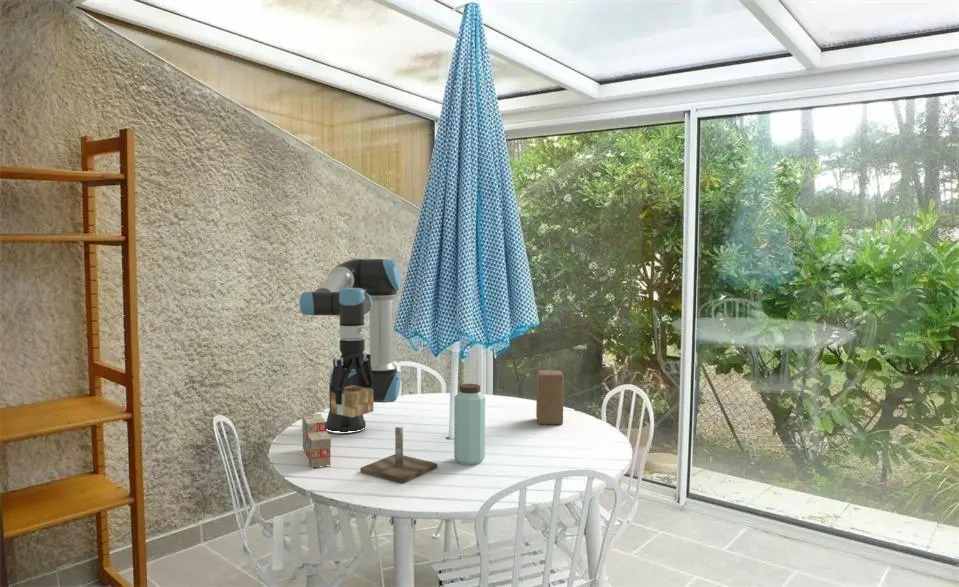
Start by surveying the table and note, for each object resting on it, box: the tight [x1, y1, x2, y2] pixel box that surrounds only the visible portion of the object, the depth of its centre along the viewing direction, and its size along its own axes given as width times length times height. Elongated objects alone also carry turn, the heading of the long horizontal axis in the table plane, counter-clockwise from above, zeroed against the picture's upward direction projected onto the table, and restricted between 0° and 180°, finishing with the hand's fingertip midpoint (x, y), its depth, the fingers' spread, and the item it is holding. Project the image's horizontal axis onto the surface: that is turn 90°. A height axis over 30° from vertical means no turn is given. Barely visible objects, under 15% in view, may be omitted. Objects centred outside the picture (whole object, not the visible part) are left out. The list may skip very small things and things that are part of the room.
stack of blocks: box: [301, 413, 332, 468], centre depth 226 cm, size 21×6×12 cm, turn 22°
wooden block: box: [535, 369, 565, 426], centre depth 272 cm, size 10×10×20 cm
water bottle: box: [453, 383, 486, 466], centre depth 223 cm, size 10×10×25 cm
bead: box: [331, 385, 374, 417], centre depth 210 cm, size 9×9×7 cm
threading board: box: [359, 426, 438, 485], centre depth 214 cm, size 17×17×14 cm
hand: (352, 411), depth 210 cm, fingers closed on bead, 9 cm apart
